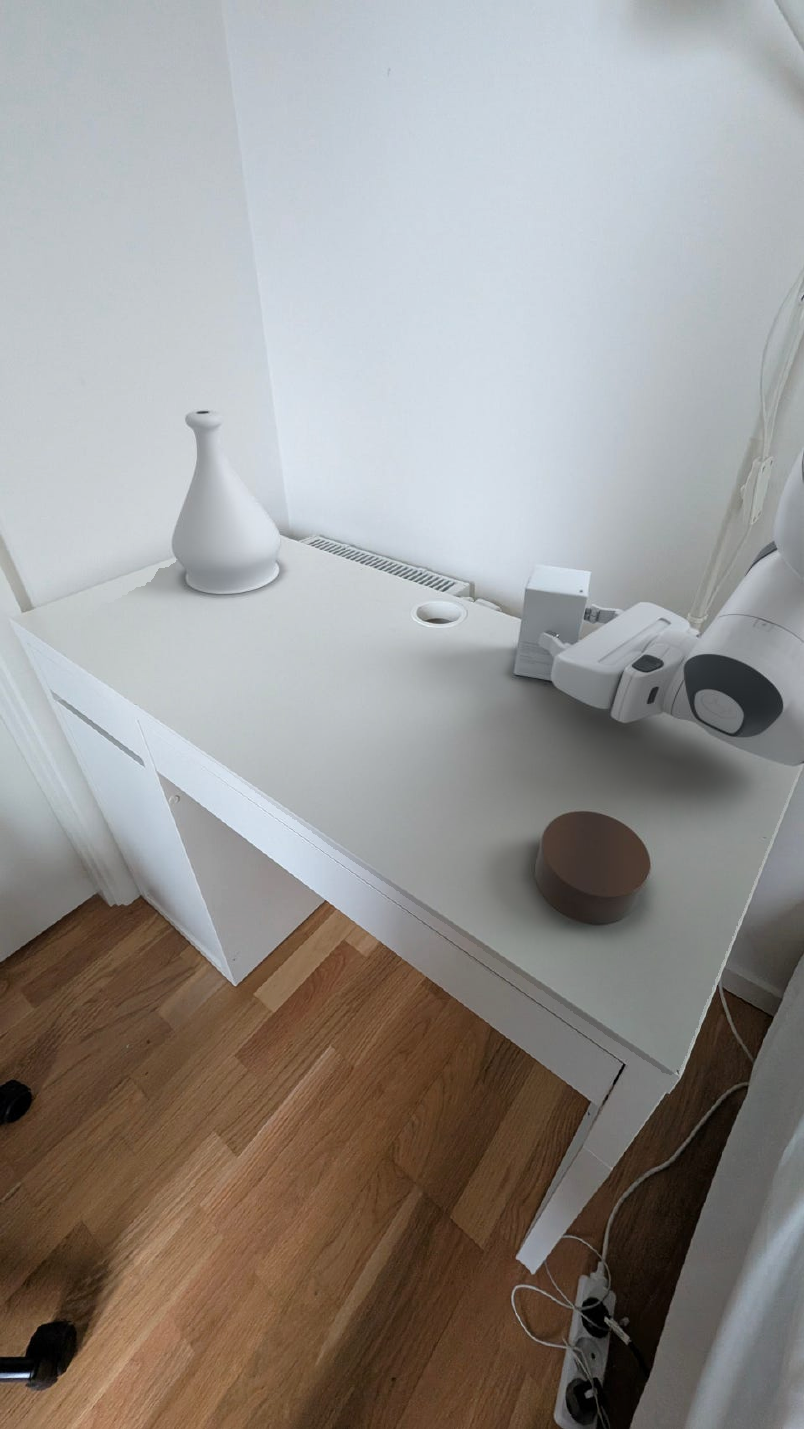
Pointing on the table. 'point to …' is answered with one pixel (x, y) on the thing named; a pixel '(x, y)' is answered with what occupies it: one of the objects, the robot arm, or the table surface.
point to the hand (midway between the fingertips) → (565, 623)
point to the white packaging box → (550, 615)
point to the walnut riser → (591, 867)
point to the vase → (222, 522)
